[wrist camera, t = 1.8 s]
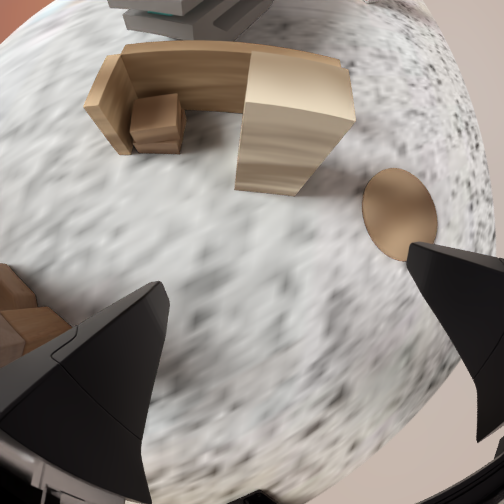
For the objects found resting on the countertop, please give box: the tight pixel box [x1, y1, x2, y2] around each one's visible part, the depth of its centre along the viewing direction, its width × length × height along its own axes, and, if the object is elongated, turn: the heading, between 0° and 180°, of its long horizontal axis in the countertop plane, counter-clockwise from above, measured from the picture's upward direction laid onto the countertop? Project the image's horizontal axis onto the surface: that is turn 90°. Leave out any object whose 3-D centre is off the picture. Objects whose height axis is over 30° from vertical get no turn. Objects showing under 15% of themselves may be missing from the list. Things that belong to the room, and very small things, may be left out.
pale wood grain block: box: [234, 51, 356, 196], centre depth 17 cm, size 4×5×12 cm
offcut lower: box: [133, 109, 187, 154], centre depth 21 cm, size 4×4×2 cm
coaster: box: [362, 168, 437, 261], centre depth 23 cm, size 9×9×1 cm
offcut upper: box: [130, 93, 181, 145], centre depth 19 cm, size 3×4×2 cm
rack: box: [83, 40, 341, 155], centre depth 19 cm, size 6×17×8 cm, turn 86°
